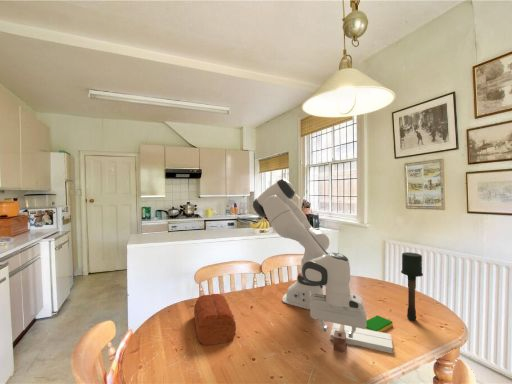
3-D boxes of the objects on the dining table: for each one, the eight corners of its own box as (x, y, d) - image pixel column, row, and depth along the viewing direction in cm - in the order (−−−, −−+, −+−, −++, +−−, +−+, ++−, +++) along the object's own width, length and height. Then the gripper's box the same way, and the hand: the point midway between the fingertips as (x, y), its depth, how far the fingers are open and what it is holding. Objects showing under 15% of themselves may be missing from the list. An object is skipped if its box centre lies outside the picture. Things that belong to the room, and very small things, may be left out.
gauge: (333, 350, 97) (333, 334, 97) (337, 332, 109) (337, 318, 109) (344, 352, 95) (344, 337, 95) (347, 334, 107) (347, 320, 107)
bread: (225, 311, 128) (225, 289, 128) (238, 340, 103) (238, 314, 103) (193, 315, 124) (193, 293, 124) (197, 347, 98) (197, 319, 98)
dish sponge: (359, 329, 112) (359, 323, 112) (377, 320, 120) (377, 315, 120) (375, 336, 106) (375, 330, 106) (392, 326, 114) (392, 321, 114)
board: (330, 339, 103) (330, 334, 103) (333, 327, 113) (333, 322, 113) (392, 353, 95) (392, 347, 95) (390, 339, 104) (390, 334, 104)
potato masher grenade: (426, 325, 115) (426, 256, 115) (404, 322, 117) (404, 255, 117) (418, 315, 123) (418, 252, 123) (398, 314, 125) (398, 251, 125)
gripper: (308, 295, 99) (307, 331, 99) (366, 305, 91) (366, 345, 91) (312, 289, 105) (311, 324, 105) (367, 299, 97) (366, 336, 97)
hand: (337, 334), depth 98 cm, fingers open, 8 cm apart
